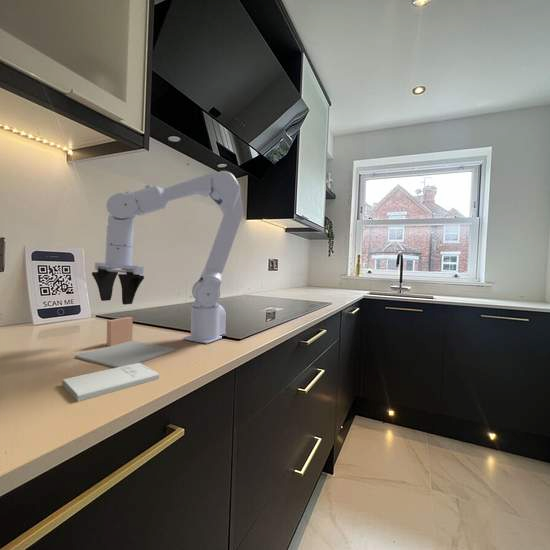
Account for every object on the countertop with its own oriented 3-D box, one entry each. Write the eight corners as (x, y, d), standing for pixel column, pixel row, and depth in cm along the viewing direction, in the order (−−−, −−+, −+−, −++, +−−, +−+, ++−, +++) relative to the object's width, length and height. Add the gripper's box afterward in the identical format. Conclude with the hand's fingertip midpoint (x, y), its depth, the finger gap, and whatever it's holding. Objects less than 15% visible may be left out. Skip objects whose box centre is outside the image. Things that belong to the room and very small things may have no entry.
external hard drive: (61, 388, 49) (138, 369, 58) (77, 405, 43) (159, 381, 52) (62, 378, 48) (138, 361, 58) (77, 394, 43) (159, 372, 52)
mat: (132, 342, 75) (132, 340, 75) (175, 350, 69) (175, 348, 69) (74, 357, 62) (74, 355, 62) (121, 369, 56) (121, 367, 56)
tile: (128, 339, 77) (128, 316, 76) (132, 340, 76) (132, 317, 76) (106, 345, 71) (106, 320, 71) (110, 346, 71) (110, 321, 70)
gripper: (83, 243, 71) (80, 300, 71) (126, 245, 65) (122, 307, 65) (110, 246, 78) (107, 298, 78) (151, 248, 72) (148, 304, 72)
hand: (116, 302), depth 72 cm, fingers open, 7 cm apart
